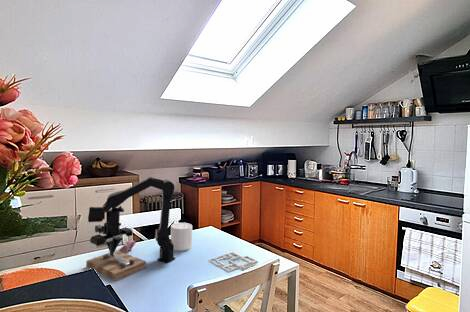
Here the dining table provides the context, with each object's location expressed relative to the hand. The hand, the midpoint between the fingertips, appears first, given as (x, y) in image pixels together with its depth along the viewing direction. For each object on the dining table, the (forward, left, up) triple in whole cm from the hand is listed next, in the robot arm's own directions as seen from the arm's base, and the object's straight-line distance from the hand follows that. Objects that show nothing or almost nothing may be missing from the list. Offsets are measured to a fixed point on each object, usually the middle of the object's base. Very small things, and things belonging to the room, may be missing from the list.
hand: (111, 253), depth 141 cm
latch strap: (-5, 0, -2) cm, 5 cm away
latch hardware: (-4, 0, -3) cm, 5 cm away
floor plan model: (-45, -41, -7) cm, 61 cm away
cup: (-9, -37, -6) cm, 39 cm away
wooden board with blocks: (-3, 0, -6) cm, 7 cm away
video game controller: (+9, -15, -6) cm, 18 cm away
